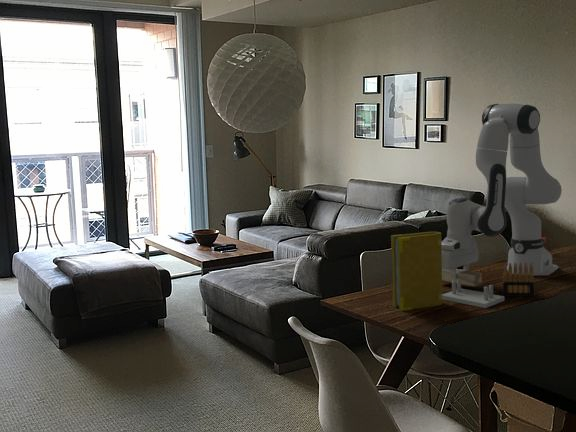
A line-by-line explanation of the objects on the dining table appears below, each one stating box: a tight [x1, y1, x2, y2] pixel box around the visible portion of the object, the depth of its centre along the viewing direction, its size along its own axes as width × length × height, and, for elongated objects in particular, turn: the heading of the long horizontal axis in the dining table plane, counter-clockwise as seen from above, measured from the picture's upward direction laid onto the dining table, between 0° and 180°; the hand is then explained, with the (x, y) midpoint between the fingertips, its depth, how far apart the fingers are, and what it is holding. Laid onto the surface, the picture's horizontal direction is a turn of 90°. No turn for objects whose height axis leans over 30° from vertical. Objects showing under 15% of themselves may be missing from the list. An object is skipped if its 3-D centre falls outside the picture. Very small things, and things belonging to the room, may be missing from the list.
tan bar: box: [442, 268, 483, 287], centre depth 246 cm, size 5×16×4 cm, turn 40°
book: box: [390, 231, 443, 312], centre depth 223 cm, size 17×7×25 cm, turn 106°
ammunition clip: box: [501, 262, 535, 297], centre depth 230 cm, size 11×2×12 cm, turn 76°
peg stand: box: [442, 279, 506, 309], centre depth 227 cm, size 12×18×6 cm, turn 41°
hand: (459, 277), depth 246 cm, fingers closed on tan bar, 5 cm apart
